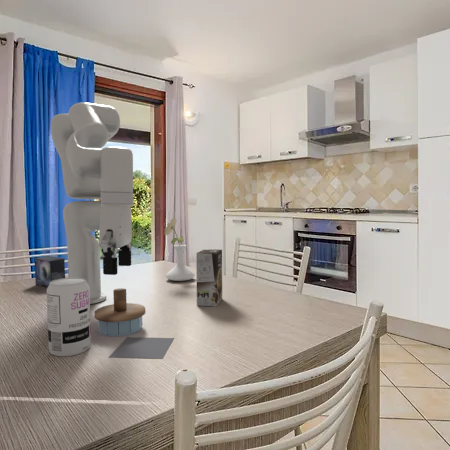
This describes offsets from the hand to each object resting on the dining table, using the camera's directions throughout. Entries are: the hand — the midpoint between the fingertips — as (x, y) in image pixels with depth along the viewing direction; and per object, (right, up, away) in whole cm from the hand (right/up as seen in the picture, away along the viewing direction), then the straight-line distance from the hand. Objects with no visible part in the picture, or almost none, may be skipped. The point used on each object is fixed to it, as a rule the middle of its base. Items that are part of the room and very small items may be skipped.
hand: (118, 269), depth 91 cm
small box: (-40, -12, +49) cm, 65 cm away
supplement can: (-7, -16, -12) cm, 21 cm away
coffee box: (+22, -13, +25) cm, 35 cm away
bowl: (+1, -15, 0) cm, 15 cm away
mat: (+9, -16, -11) cm, 21 cm away
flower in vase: (+8, -11, +57) cm, 58 cm away
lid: (+1, -11, 0) cm, 11 cm away
